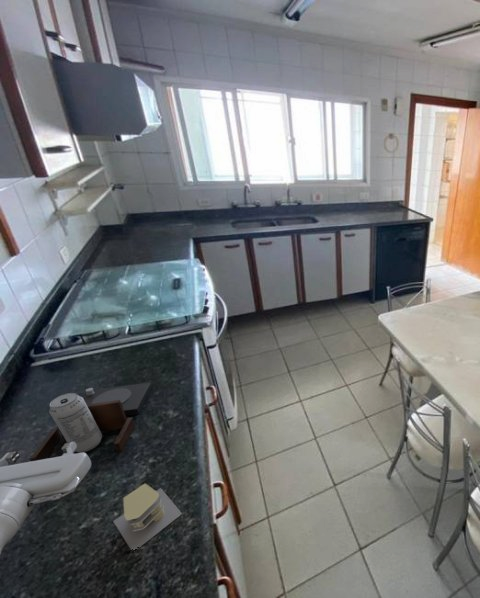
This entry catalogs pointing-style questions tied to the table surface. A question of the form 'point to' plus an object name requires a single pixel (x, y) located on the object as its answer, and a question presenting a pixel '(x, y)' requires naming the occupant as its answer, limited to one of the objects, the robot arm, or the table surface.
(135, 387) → the stove
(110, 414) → the brown wooden stand
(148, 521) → the stacked layers on plate
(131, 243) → the table surface
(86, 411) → the energy drink can
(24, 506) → the robot arm
